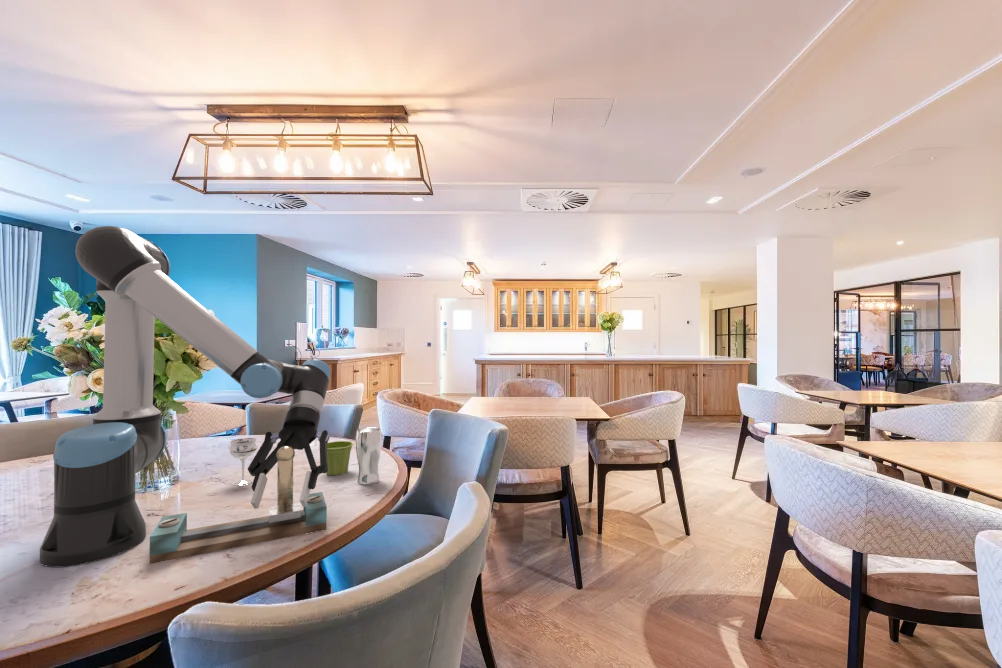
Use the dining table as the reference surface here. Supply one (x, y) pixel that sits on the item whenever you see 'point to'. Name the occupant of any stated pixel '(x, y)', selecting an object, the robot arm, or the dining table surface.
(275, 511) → the knob-topped peg
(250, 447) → the wineglass
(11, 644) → the dining table surface
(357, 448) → the beer glass
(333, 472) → the plant pot
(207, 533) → the rail track
